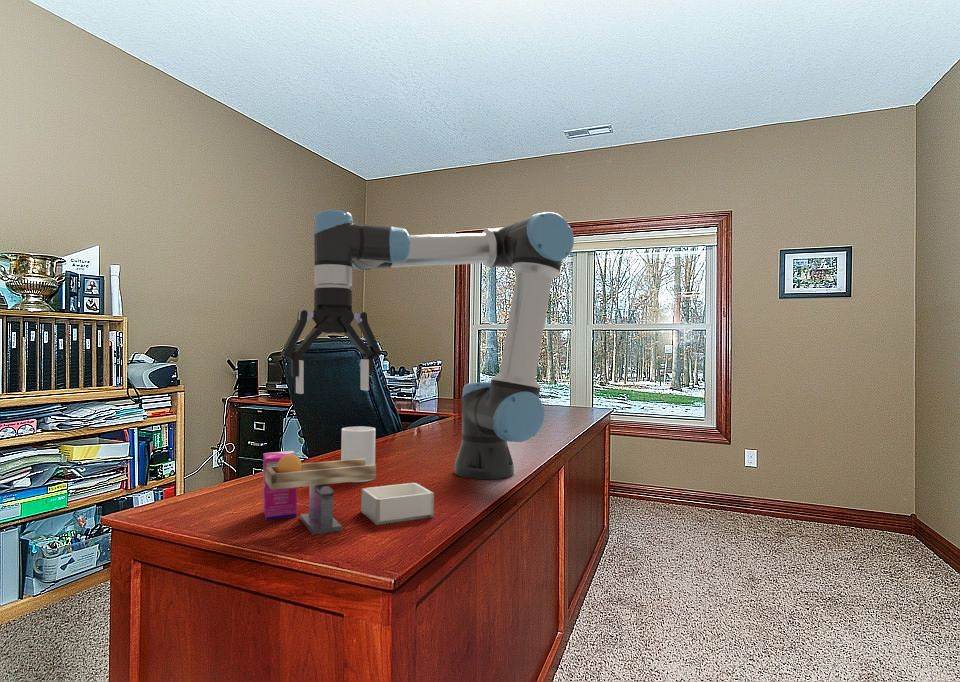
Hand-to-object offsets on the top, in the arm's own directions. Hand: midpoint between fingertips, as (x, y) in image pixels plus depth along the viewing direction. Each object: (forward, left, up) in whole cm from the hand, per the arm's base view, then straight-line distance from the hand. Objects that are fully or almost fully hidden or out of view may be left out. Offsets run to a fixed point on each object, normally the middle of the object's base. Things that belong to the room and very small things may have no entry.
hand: (333, 391), depth 117 cm
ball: (+11, +13, -12) cm, 21 cm away
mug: (-12, -20, -23) cm, 33 cm away
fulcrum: (+5, +13, -23) cm, 27 cm away
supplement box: (+11, +4, -23) cm, 26 cm away
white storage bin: (-9, +13, -23) cm, 28 cm away
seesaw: (+5, +10, -15) cm, 19 cm away
